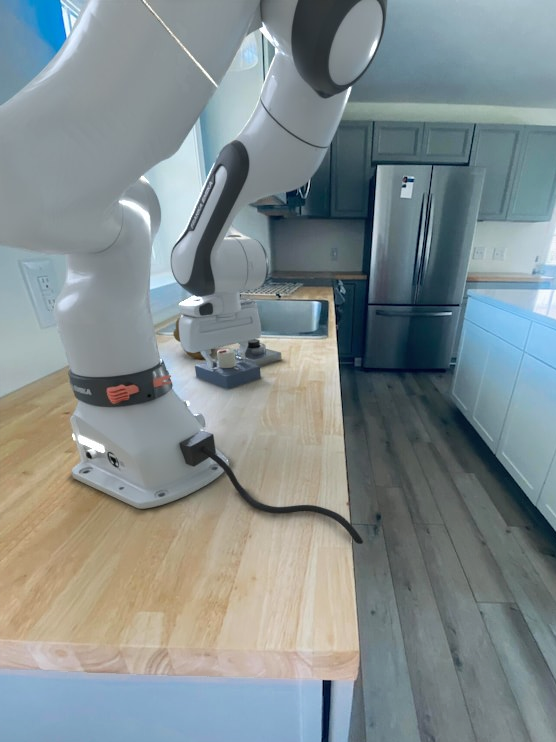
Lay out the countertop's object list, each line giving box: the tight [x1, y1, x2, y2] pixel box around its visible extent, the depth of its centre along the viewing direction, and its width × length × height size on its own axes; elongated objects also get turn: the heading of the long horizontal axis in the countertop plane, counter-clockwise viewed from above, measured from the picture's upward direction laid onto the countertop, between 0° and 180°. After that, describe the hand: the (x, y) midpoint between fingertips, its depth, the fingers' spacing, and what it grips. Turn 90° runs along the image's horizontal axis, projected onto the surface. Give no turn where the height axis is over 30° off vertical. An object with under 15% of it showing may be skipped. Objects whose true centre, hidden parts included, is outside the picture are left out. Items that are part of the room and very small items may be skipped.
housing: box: [233, 342, 282, 367], centre depth 101 cm, size 12×10×4 cm
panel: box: [194, 359, 262, 390], centre depth 88 cm, size 12×10×3 cm
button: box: [247, 338, 261, 348], centre depth 100 cm, size 4×4×2 cm
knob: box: [216, 348, 236, 368], centre depth 86 cm, size 4×4×4 cm
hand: (227, 363), depth 87 cm, fingers open, 7 cm apart
